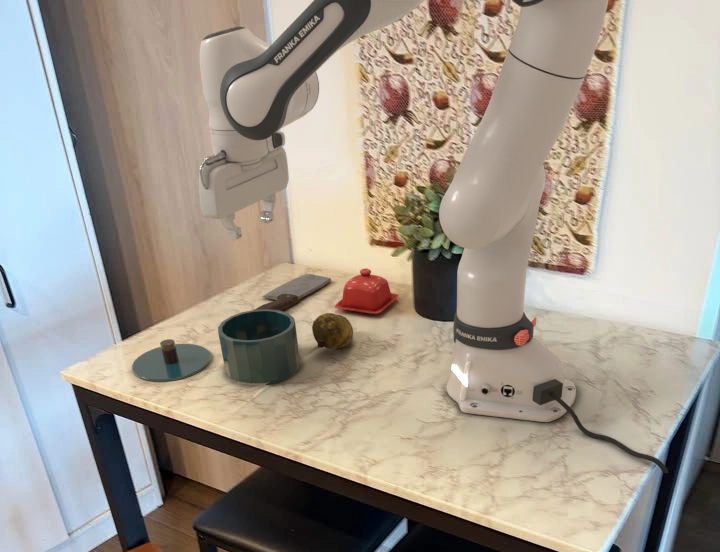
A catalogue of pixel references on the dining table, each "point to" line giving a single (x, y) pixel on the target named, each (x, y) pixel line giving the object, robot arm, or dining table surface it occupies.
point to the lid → (171, 362)
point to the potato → (332, 331)
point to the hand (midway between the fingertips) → (252, 230)
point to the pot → (259, 346)
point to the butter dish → (366, 294)
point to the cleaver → (293, 291)
